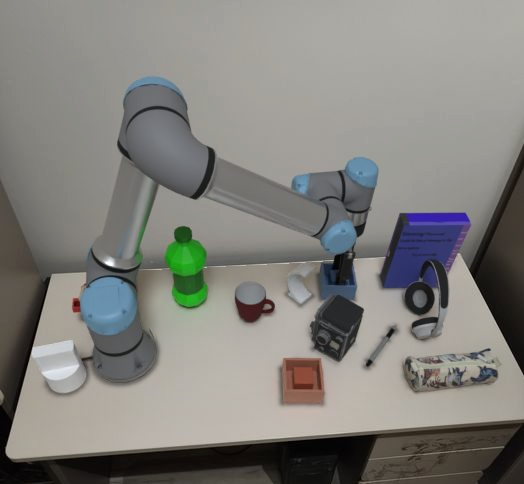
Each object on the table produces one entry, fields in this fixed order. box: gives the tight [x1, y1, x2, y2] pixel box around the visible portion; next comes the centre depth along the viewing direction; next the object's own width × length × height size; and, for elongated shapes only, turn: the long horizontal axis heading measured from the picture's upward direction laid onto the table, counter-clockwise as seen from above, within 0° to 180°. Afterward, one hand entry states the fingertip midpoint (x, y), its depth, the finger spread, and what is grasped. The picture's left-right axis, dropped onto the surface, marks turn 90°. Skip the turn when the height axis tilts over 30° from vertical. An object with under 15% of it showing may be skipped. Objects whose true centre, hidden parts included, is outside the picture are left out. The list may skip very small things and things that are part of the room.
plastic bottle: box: [164, 225, 209, 308], centre depth 126 cm, size 10×10×25 cm
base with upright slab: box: [31, 339, 88, 394], centre depth 114 cm, size 9×9×12 cm
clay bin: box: [281, 357, 326, 404], centre depth 117 cm, size 9×9×5 cm
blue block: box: [328, 270, 348, 285], centre depth 138 cm, size 4×4×4 cm
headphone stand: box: [286, 262, 318, 305], centre depth 134 cm, size 5×6×12 cm
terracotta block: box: [292, 367, 314, 389], centre depth 117 cm, size 4×4×4 cm
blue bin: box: [318, 262, 358, 301], centre depth 138 cm, size 9×9×5 cm
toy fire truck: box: [71, 282, 86, 313], centre depth 129 cm, size 3×14×10 cm, turn 6°
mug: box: [234, 280, 276, 323], centre depth 129 cm, size 10×8×10 cm
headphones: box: [404, 259, 450, 340], centre depth 126 cm, size 19×8×20 cm, turn 0°
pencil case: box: [403, 347, 503, 392], centre depth 118 cm, size 22×8×10 cm, turn 97°
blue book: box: [379, 212, 472, 289], centre depth 134 cm, size 17×5×24 cm, turn 93°
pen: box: [365, 324, 398, 367], centre depth 127 cm, size 1×16×1 cm, turn 143°
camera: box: [309, 294, 365, 362], centre depth 122 cm, size 10×10×15 cm
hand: (337, 280), depth 138 cm, fingers open, 6 cm apart
